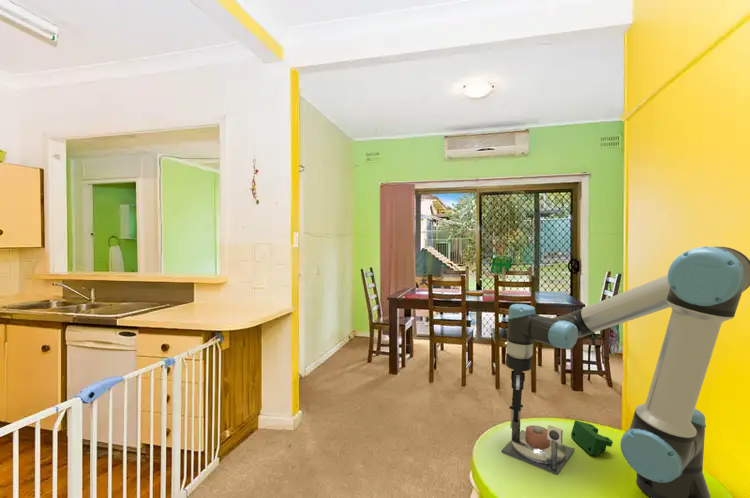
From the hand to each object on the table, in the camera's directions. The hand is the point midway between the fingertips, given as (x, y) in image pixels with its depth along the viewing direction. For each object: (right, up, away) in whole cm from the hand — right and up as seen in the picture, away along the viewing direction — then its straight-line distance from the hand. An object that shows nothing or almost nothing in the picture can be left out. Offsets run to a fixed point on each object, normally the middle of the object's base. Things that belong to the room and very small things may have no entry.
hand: (514, 428), depth 121 cm
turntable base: (+6, -6, -3) cm, 9 cm away
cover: (+6, -3, -3) cm, 7 cm away
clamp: (+24, -6, 0) cm, 25 cm away
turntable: (+6, -6, -3) cm, 9 cm away
